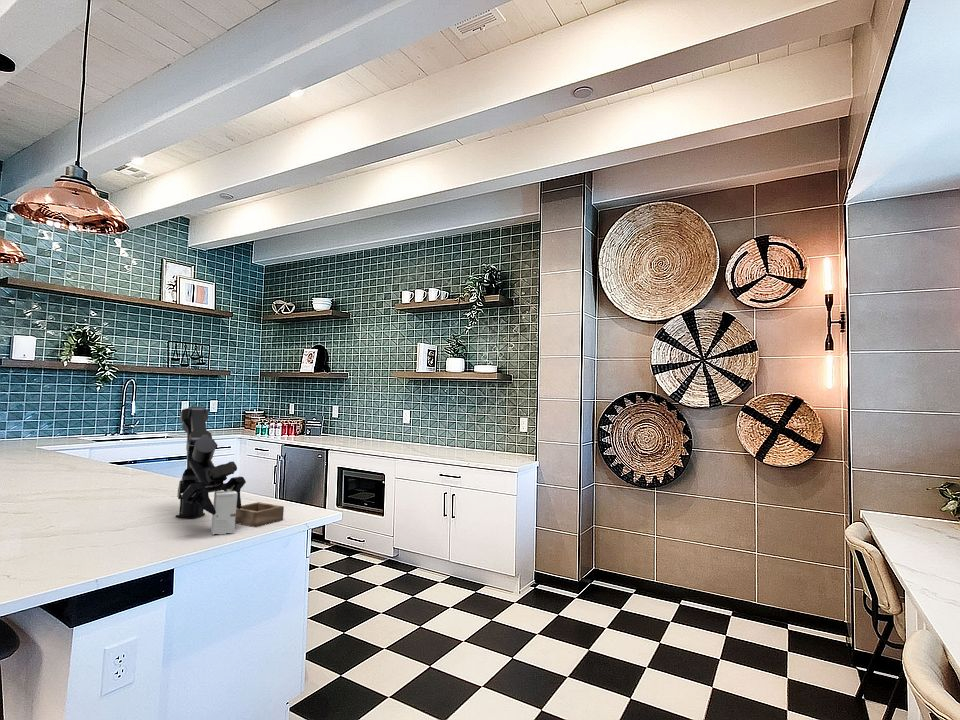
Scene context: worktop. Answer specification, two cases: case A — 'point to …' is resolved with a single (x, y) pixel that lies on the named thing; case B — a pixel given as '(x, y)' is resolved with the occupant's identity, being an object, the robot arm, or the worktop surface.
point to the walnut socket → (259, 514)
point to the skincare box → (224, 512)
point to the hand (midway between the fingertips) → (227, 511)
